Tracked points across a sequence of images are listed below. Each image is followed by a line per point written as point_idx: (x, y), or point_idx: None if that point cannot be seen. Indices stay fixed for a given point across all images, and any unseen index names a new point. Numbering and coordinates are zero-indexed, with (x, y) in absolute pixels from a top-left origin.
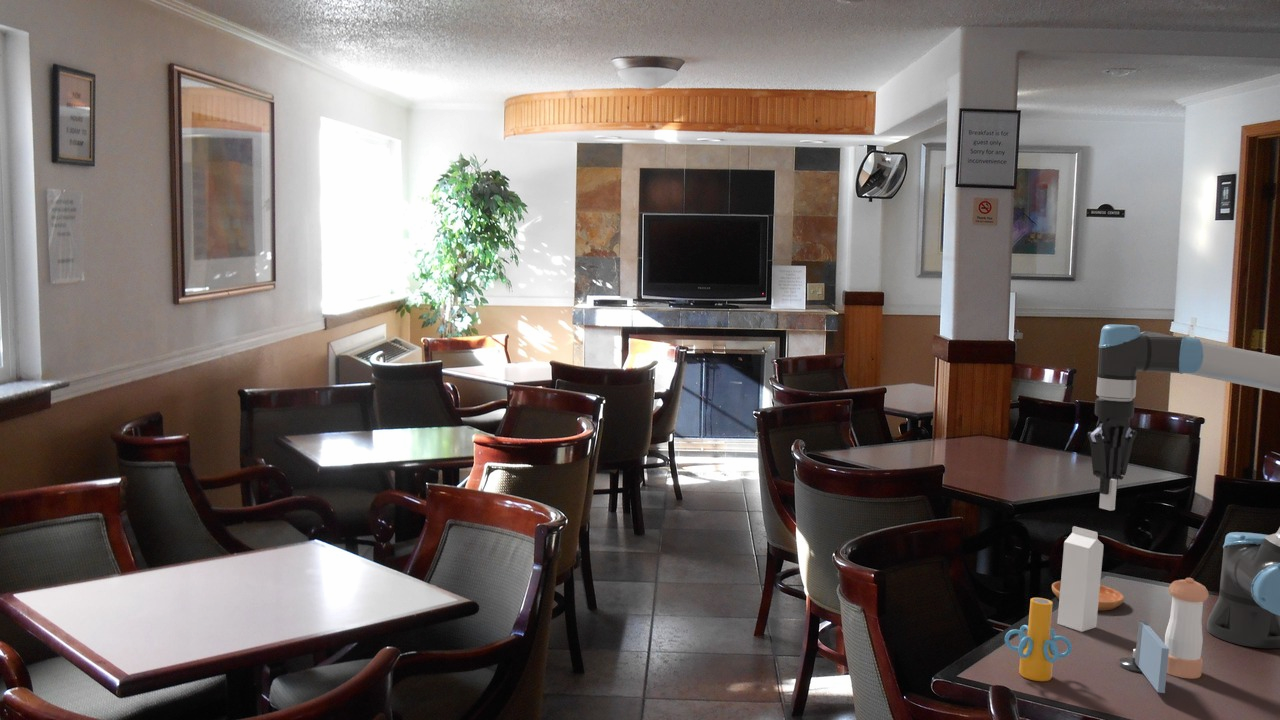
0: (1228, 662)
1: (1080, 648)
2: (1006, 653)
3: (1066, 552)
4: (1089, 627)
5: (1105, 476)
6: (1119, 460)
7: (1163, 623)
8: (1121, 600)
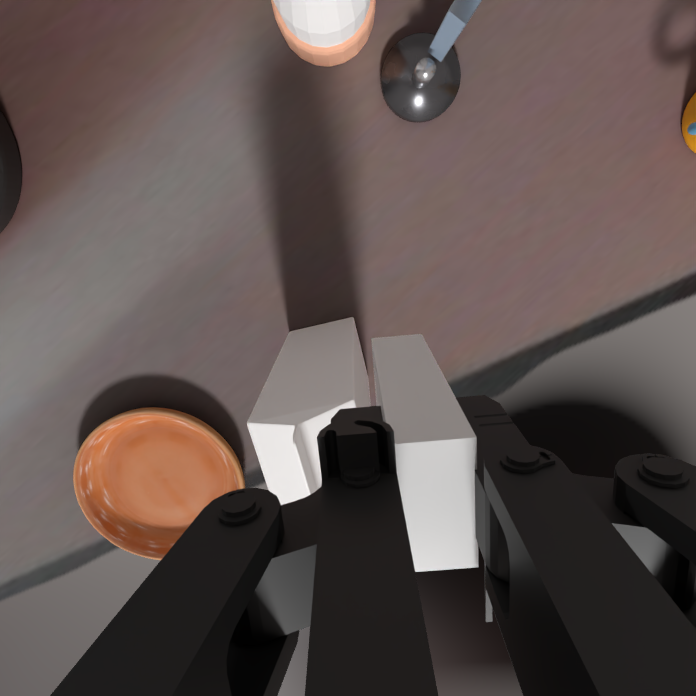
0: (135, 20)
1: (449, 230)
2: (654, 260)
3: None
4: (319, 325)
5: (625, 463)
6: (372, 666)
7: (87, 302)
8: (117, 415)
